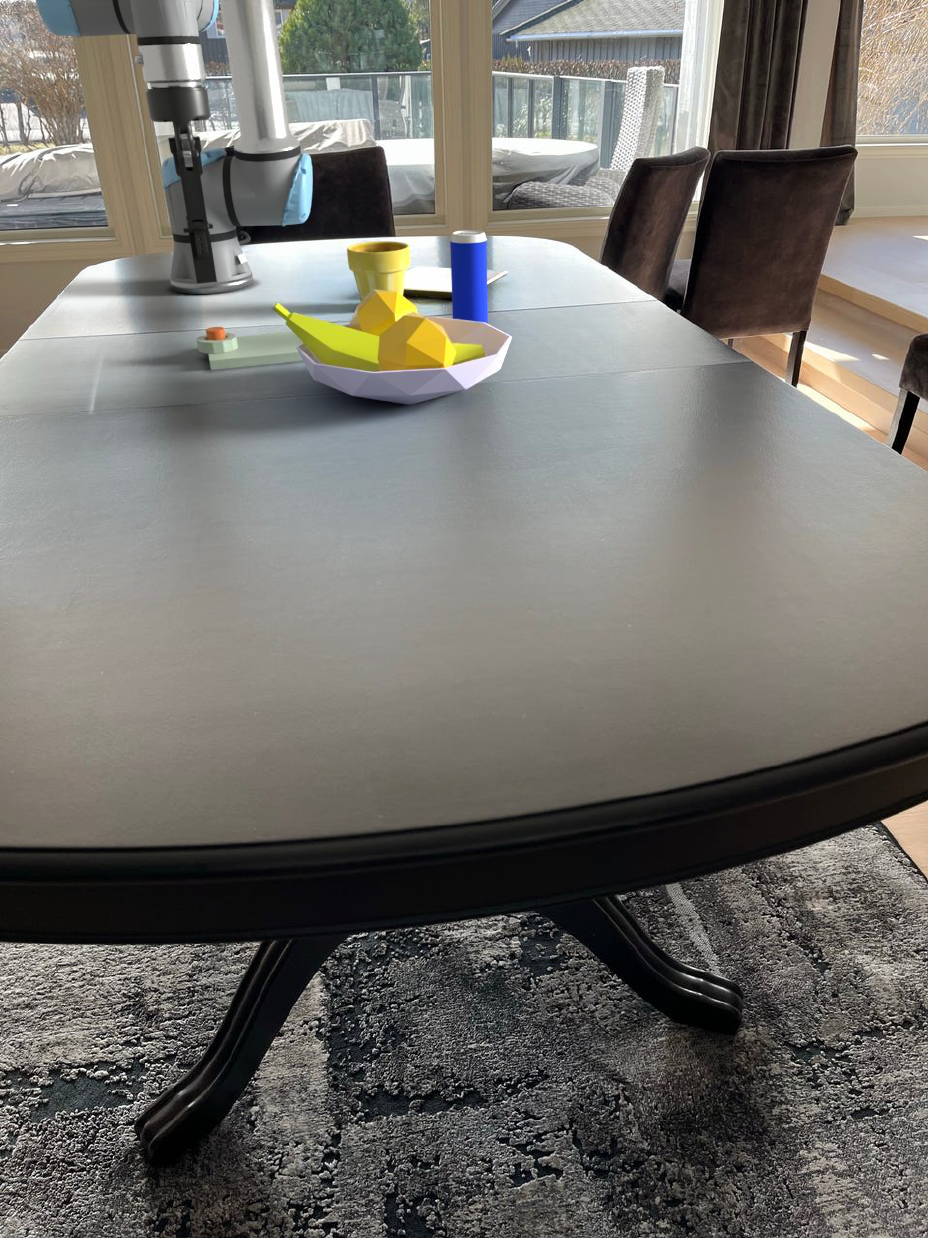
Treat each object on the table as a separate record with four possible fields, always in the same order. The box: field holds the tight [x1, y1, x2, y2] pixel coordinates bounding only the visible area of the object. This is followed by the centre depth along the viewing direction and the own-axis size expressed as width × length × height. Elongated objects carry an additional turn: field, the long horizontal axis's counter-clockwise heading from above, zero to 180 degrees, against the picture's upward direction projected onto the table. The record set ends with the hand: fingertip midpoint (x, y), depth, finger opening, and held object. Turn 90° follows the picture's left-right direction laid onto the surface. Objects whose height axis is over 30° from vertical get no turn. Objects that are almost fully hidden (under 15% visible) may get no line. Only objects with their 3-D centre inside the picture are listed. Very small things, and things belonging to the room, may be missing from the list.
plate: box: [403, 266, 509, 299], centre depth 171 cm, size 19×19×2 cm
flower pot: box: [346, 240, 411, 302], centre depth 158 cm, size 10×10×10 cm
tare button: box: [205, 326, 226, 340], centre depth 134 cm, size 3×3×2 cm
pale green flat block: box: [196, 330, 304, 371], centre depth 136 cm, size 12×17×3 cm
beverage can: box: [449, 229, 489, 324], centre depth 136 cm, size 5×5×15 cm
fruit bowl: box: [272, 289, 513, 406], centre depth 118 cm, size 28×27×11 cm
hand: (206, 281), depth 130 cm, fingers closed
